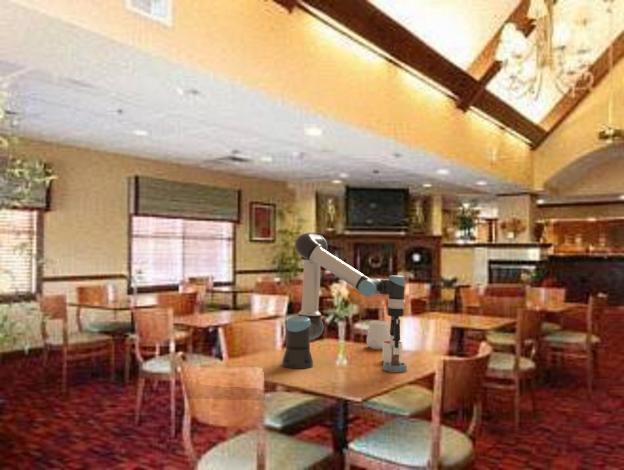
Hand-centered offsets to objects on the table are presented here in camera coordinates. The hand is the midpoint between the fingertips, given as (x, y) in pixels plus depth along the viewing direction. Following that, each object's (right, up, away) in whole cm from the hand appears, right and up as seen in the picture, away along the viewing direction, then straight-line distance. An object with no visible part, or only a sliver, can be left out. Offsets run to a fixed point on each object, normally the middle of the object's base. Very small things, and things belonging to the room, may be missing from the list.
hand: (394, 351), depth 282 cm
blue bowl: (0, -9, 0) cm, 9 cm away
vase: (-1, -10, +60) cm, 61 cm away
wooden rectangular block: (0, -8, 0) cm, 8 cm away
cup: (+2, -9, +19) cm, 21 cm away
